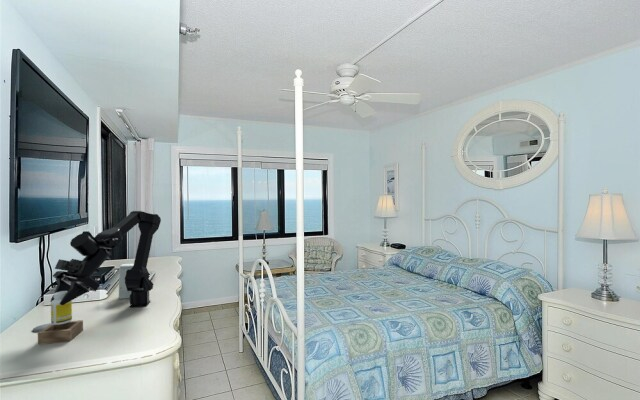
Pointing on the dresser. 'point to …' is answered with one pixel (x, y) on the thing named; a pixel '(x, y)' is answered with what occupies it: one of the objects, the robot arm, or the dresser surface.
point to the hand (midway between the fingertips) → (56, 303)
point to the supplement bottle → (60, 309)
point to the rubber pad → (40, 327)
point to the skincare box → (123, 281)
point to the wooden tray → (60, 332)
